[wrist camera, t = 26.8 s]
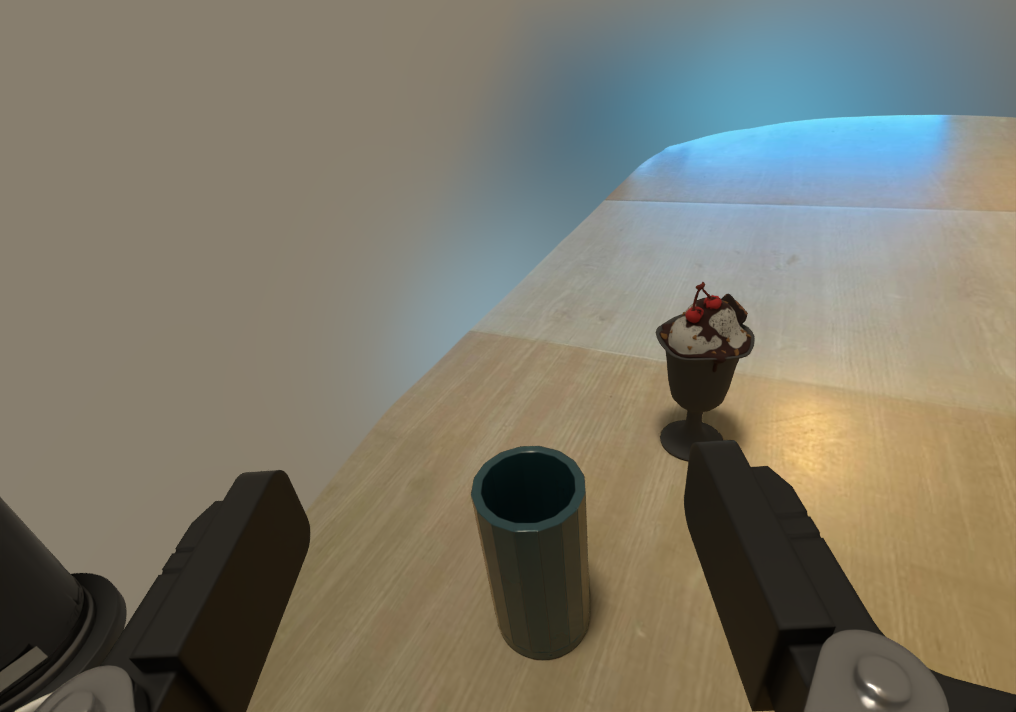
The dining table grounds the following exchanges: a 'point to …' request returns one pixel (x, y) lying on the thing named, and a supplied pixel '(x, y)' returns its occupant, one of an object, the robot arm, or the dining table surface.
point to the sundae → (702, 364)
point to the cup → (535, 548)
